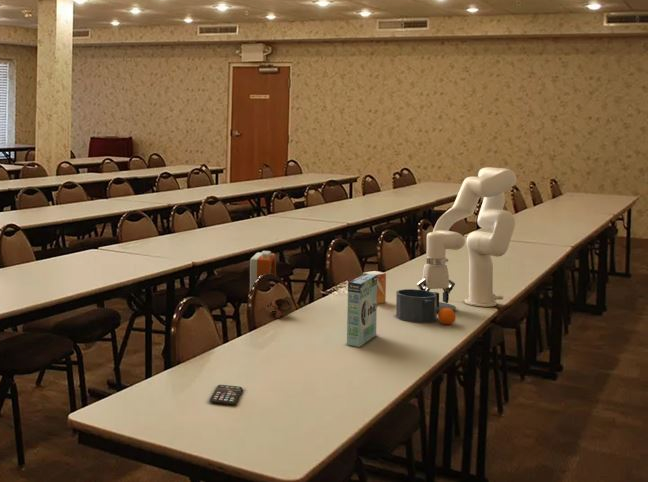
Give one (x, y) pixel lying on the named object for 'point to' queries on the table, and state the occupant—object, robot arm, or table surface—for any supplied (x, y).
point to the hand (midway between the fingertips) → (435, 302)
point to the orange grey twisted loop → (278, 308)
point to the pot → (416, 305)
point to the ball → (446, 316)
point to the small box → (380, 286)
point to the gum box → (361, 309)
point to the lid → (443, 304)
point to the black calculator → (226, 394)
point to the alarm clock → (262, 265)
